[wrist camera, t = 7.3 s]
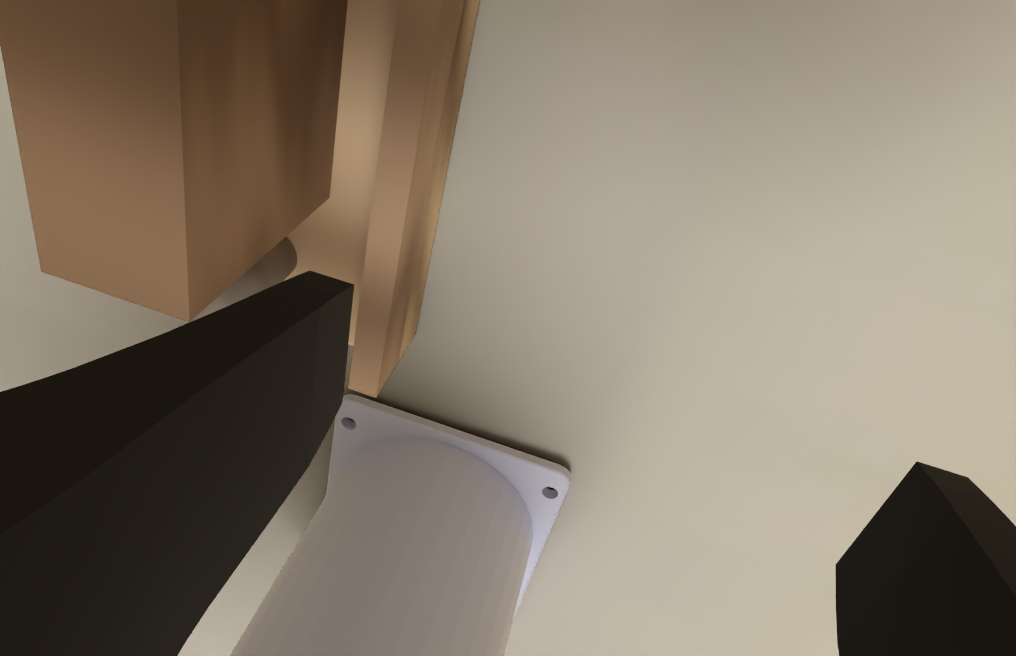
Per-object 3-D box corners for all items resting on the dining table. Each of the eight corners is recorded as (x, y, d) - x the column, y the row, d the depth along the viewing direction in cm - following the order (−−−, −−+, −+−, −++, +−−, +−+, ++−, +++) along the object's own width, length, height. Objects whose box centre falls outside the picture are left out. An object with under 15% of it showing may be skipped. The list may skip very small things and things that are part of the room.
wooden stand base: (415, 333, 22) (356, 429, 18) (203, 262, 22) (102, 341, 18) (587, -555, 11) (530, -755, 8) (180, -658, 12) (-59, -897, 8)
